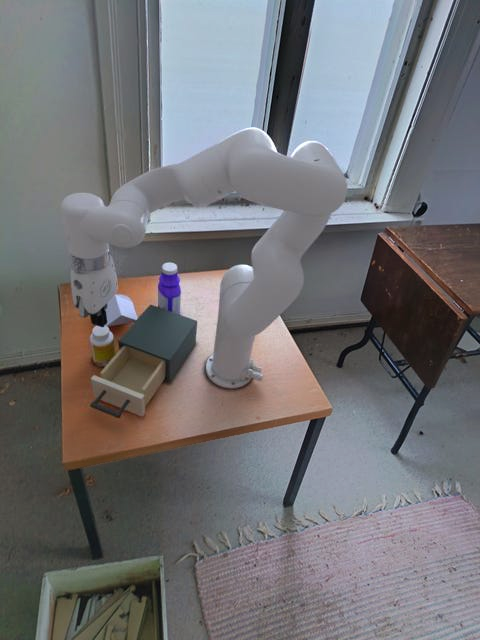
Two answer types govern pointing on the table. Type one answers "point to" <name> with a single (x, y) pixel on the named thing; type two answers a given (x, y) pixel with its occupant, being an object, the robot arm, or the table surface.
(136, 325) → the cabinet
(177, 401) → the table surface
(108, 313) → the wedge on round base
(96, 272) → the robot arm
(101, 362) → the supplement bottle
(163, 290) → the bottle
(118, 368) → the drawer
